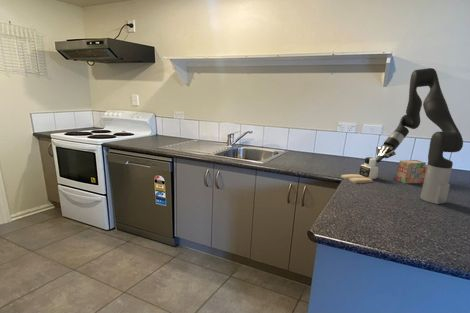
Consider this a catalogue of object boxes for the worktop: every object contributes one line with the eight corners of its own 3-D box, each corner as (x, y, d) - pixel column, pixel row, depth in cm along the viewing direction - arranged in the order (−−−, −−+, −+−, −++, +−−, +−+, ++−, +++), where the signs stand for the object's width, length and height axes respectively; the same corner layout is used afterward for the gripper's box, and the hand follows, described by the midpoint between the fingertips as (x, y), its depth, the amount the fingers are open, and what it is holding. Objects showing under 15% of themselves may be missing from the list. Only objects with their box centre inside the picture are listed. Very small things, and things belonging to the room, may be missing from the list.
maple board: (372, 181, 155) (372, 179, 155) (356, 183, 151) (356, 181, 151) (356, 175, 166) (357, 173, 166) (341, 176, 162) (341, 174, 161)
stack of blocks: (424, 179, 165) (429, 159, 162) (434, 182, 159) (438, 162, 157) (395, 180, 160) (399, 160, 158) (404, 183, 155) (408, 162, 152)
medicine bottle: (358, 175, 165) (361, 156, 163) (367, 174, 168) (370, 156, 165) (368, 179, 159) (371, 159, 156) (376, 178, 162) (380, 159, 159)
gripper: (382, 134, 170) (365, 154, 168) (402, 138, 158) (384, 160, 156) (386, 142, 173) (369, 162, 171) (406, 147, 162) (388, 168, 160)
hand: (376, 161), depth 164 cm, fingers closed
